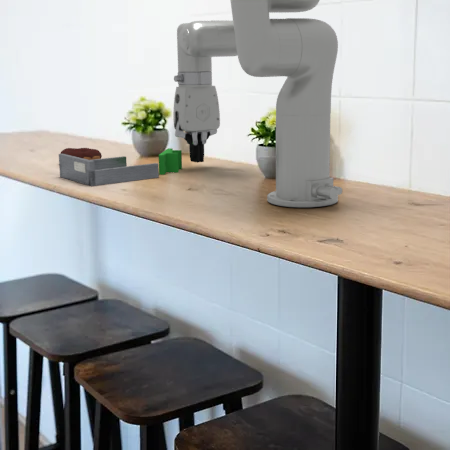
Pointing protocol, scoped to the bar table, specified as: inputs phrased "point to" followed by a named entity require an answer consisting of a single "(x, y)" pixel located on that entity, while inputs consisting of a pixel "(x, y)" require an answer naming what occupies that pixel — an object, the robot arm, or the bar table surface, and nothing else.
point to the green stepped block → (170, 161)
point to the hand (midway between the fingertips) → (197, 161)
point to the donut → (83, 153)
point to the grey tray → (104, 170)
